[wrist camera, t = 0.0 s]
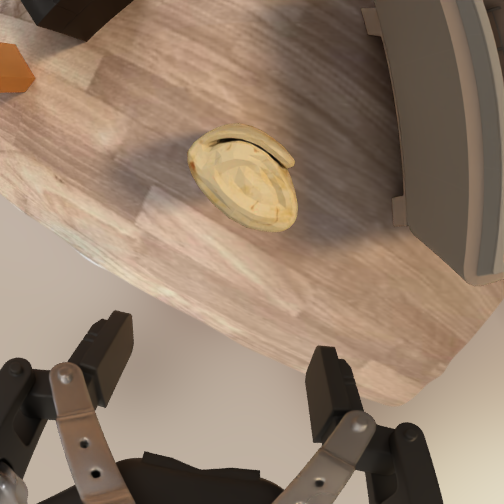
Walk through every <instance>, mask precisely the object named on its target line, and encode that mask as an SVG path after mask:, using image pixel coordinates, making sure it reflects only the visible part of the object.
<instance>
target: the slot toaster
mask: <svg viewBox="0 0 504 504" xmlns="http://www.w3.org/2000/svg"><path fill="white" fill-rule="evenodd" d="M132 1H133V0H21V2H22V3H23V5H24V6H25V8H26V10H27V11H28V13H29V14H30V16H31V17H32V19H33V20H34V22H35V24H36V25H37V26H40V27H43V28H47V29H50V30H53V31H56V32H59V33H63V34H66V35H69V36H72V37H74V38H77V39H80V40H83V41H86V42H87V41H88V40H89V39H90V38H91V37H92V36H93V35H94V34H95V33H96V32H97V31H98V30H99V29H100V28H102V27H103V26H104V25H105V24H106V23H107V22H108V21H109V20H110V19H112V18H113V17H114V16H115V15H116V14H117V13H119V12H120V11H121V10H122V9H123V8H125V7H126V6H127V5H128V4H130V3H131V2H132Z"/></svg>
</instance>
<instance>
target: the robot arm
mask: <svg viewBox="0 0 504 504" xmlns="http://www.w3.org/2000/svg"><path fill="white" fill-rule="evenodd" d="M133 344H134V339H133V324H132V315H131V314H129V313H125V312H120V311H116V310H115V311H113V313H112V314H111V315H110V317H109V319H108V320H104V319H101V320H100V321H98V322H96V323H95V324H93V325H92V327H91V328H90V330H89V331H88V334H86V335H85V337H84V338H83V340H82V341H81V343H80V344H79V346H78V347H77V348H76V350H75V351H74V353H73V354H72V356H71V357H70V359H69V360H68V362H63V363H59V364H57V365H55V366H54V367H53V368H52V369H51V370H37V369H32V367H31V364H30V363H29V362H28V361H27V360H26V359H23V358H14V359H11V360H9V361H7V362H6V363H5V364H4V366H3V367H2V369H1V370H0V504H27V496H28V489H27V487H26V484H25V483H24V482H23V477H24V474H25V472H26V469H27V467H28V464H29V462H30V459H31V457H32V455H33V452H34V450H35V447H36V445H37V443H38V440H39V438H40V436H41V433H42V431H43V429H44V427H45V425H46V423H47V420H48V419H49V420H56V424H57V428H58V431H59V435H60V439H61V442H62V446H63V449H64V453H65V456H66V459H67V462H68V465H69V468H70V471H71V474H72V477H73V479H74V482H75V485H74V486H72V487H70V488H68V489H66V490H64V491H62V492H60V493H58V494H56V495H54V496H52V497H50V498H48V499H46V500H44V501H41V502H39V503H37V504H332V503H333V502H334V501H335V499H336V498H337V496H338V495H339V494H340V492H341V490H342V489H343V488H344V486H345V485H346V483H347V482H348V480H349V479H350V477H351V476H352V474H353V472H354V471H355V470H359V471H364V472H365V475H366V482H367V489H368V497H369V504H443V500H442V496H441V492H440V488H439V484H438V481H437V477H436V473H435V470H434V466H433V463H432V459H431V457H430V453H429V449H428V447H427V443H426V440H425V437H424V434H423V432H422V430H421V429H420V428H419V427H418V426H416V425H415V424H412V423H408V422H407V423H401V424H399V425H398V426H397V427H396V429H392V428H388V427H384V426H380V425H377V424H376V423H375V420H374V419H373V418H372V416H370V415H369V414H368V413H366V412H364V410H363V407H362V403H361V400H360V396H359V393H358V389H357V386H356V383H355V379H354V378H353V377H354V376H353V373H352V369H351V367H350V366H349V365H348V363H347V362H346V361H345V360H344V359H338V356H337V352H336V349H335V347H329V346H317V347H316V349H315V351H314V354H313V356H312V359H311V361H310V364H309V366H308V369H307V372H306V379H305V383H306V391H307V398H308V405H309V414H310V421H311V429H312V436H313V442H314V443H322V447H321V448H320V449H319V450H318V451H317V452H316V454H315V455H314V456H313V457H312V458H311V460H310V461H309V462H308V463H307V465H306V466H305V467H304V468H303V469H302V471H301V472H300V473H299V474H298V475H297V476H296V478H295V479H294V480H293V481H292V482H291V483H290V484H289V485H288V487H287V488H286V489H285V490H284V489H282V488H281V487H279V486H278V485H276V484H275V483H273V482H271V481H268V480H266V479H263V478H260V470H249V469H239V468H222V469H209V470H201V469H197V468H195V467H192V466H190V465H187V464H185V463H183V462H180V461H178V460H176V459H173V458H170V457H166V456H162V455H157V454H153V453H149V452H144V454H143V458H131V459H125V460H121V461H118V462H116V463H115V460H114V458H113V456H112V454H111V451H110V449H109V447H108V444H107V442H106V439H105V437H104V434H103V432H102V429H101V426H100V424H99V421H98V418H97V416H96V413H95V410H96V408H97V406H101V407H104V408H106V407H107V405H108V402H109V400H110V398H111V395H112V394H113V391H114V389H115V387H116V385H117V383H118V381H119V378H120V376H121V374H122V372H123V370H124V368H125V366H126V364H127V362H128V360H129V358H130V355H131V353H132V349H133Z"/></svg>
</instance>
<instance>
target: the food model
mask: <svg viewBox="0 0 504 504" xmlns="http://www.w3.org/2000/svg"><path fill="white" fill-rule="evenodd" d="M187 156H188V165H189V168H190V171H191V174H192V176H193V178H194V180H195V181H196V183H197V185H198V186H199V188H200V190H201V191H202V192H203V193H204V194H205V195H206V196H207V198H208V199H209V200H210V201H211V202H212V203H213V204H214V205H215V206H216V207H217V208H218V209H219V210H220V211H222V212H223V213H224V214H225V215H226V216H227V217H228V218H230V219H232V220H234V221H235V222H237V223H239V224H241V225H243V226H245V227H246V228H251V229H255V230H260V231H266V232H281V231H284V230H286V229H288V228H289V227H290V226H291V225H292V224H293V223H294V222H295V219H296V217H297V209H298V204H297V199H296V194H295V190H294V187H293V183H292V180H291V177H290V174H289V172H288V169H287V168H290V167H293V166H294V163H295V160H294V159H293V157H292V156H290V154H289V153H288V151H287V150H286V149H285V148H284V146H282V145H281V144H280V143H278V142H277V141H276V140H274V139H273V138H272V137H270V136H269V135H268V134H266V133H265V132H263V131H261V130H259V129H256V128H254V127H252V126H248V125H244V124H239V123H237V124H226V125H223V126H221V127H218V128H215V129H213V130H211V131H209V132H208V133H206V134H204V135H203V136H202V137H200V138H199V139H198V140H196V141H195V142H194V143H193V145H192V146H191V148H190V149H189V150H188V152H187Z"/></svg>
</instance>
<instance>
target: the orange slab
mask: <svg viewBox="0 0 504 504" xmlns="http://www.w3.org/2000/svg"><path fill="white" fill-rule="evenodd" d="M34 80H35V77H34V75H33V74H32V72H31V70H30V69H29V67H28V65H27V64H26V62H25V60H24V59H23V57H22V55H21V54H20V52H19V50H18V48H17V47H16V45H14V44H8V43H1V42H0V93H5V92H26V90H27V89H28V88H29V86H30V85H31V84H32V82H33V81H34Z"/></svg>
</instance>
